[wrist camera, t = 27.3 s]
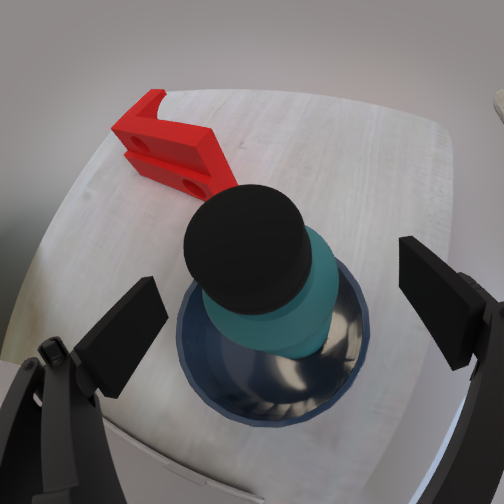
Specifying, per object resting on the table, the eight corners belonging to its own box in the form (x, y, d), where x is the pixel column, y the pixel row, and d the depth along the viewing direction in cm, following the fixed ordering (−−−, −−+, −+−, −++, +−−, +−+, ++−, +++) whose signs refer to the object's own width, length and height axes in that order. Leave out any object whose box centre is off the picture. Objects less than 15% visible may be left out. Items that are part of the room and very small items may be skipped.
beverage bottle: (343, 322, 25) (396, 207, 7) (298, 375, 24) (242, 396, 6) (293, 283, 28) (241, 125, 10) (249, 332, 27) (114, 249, 9)
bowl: (370, 275, 27) (382, 252, 21) (335, 430, 21) (339, 446, 16) (227, 250, 32) (208, 225, 27) (185, 387, 26) (155, 388, 21)
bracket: (106, 133, 33) (151, 89, 35) (139, 174, 42) (176, 132, 44) (188, 154, 26) (244, 95, 28) (221, 208, 35) (262, 153, 37)
